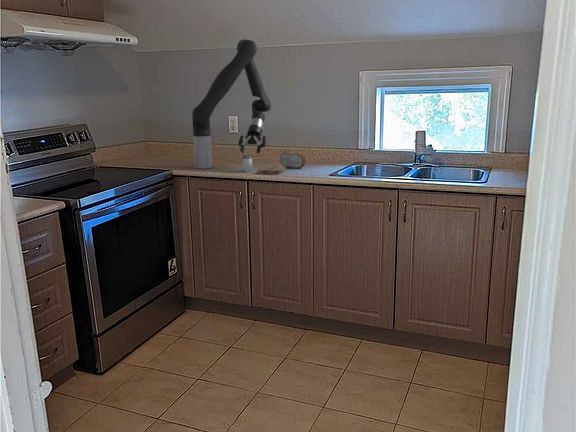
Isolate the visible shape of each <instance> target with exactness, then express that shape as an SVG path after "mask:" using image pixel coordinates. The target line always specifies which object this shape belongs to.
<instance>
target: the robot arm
mask: <svg viewBox="0 0 576 432" xmlns="http://www.w3.org/2000/svg"><path fill="white" fill-rule="evenodd" d="M257 50H258V46H257V44H256V42H255V41H253V40H251V39H245V38H244V39H241V40H239V42H238V43H237V45H236V51H237V52H236V55H235V56H234V58H232V60H231V61H230V62H229V63H228V64H226V66H224V67H223V68H222V70H220V72H219V73H218V74H217V75H216V77H215V78H214V80H213V81H212V83H211V85H210V88H209V89H208V91H207V93H206V95H205V96H204V98H203V99H202V100H201V101H200V103H199V104H198V105H197V106H195V107H194V108H193V109H192V114H191V116H192V132H193V135H192V136H193V150H192V162H193V163H192V165H193V169H210V168H213V159H212V155H213V154H212V138H211V137H212V135H211V120H210V117H211V116H212V115H213V112H214V111H215V109H216V107H217V106H218V104H219V103H220V101H221V100H222V99H223V98H224V97H225V96H226V95H227V93H228V92H229V91H230V89H231V88H232V87H233V85H234V84H235V82H236V81H237V79H238V78H239V77H240V75H241V73H242V72H243V70H245V71H244V72H245V74H246V78H247V81H248V85H249V89H250V92H251V95H252V97H257V98H259V99H255V100H253V101H252V103H251V109H252V110H251V112H252V113H251V114H252V115H251V119H250V122H249V125H248V128H247V129H248V130H247V133H246V136H243V135H241V136H240V137H239V140H238V143H237V144H238V146H239V148H240V152H241V154H244V151H245V148H246V147H248V146H249V145H257V148H256V154H257V155H258V154H260V153H261V150H262V148H266V144H267V143H266V142H267V138H266V135H263V136H262V133H263V130H264V123H265V120H266V115H265V113H266V112H269V111H271V107H272V104H271V101H270V99H269V97H268V96H267V94H266V92H265V89H264V84H263V81H262V79H261V75H260V73H259V72H258V69H257V66H256V63H255V59H254V57H255V55H256V53H257ZM260 141H261V142H260Z"/></svg>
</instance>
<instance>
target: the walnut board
mask: <svg viewBox="0 0 576 432" xmlns="http://www.w3.org/2000/svg"><path fill="white" fill-rule="evenodd" d="M283 171H284V172H285V171H286V167H284V166H283V165H282V166H279V165H278V166H276V165H264V166H262V167H260V168H258V169H257V175H276V174H279V175H280V174H282V173H284V172H283Z"/></svg>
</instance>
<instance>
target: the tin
mask: <svg viewBox="0 0 576 432" xmlns="http://www.w3.org/2000/svg"><path fill="white" fill-rule="evenodd" d="M280 163H281V165H282V166H283V167H285V168H288V167H290V168H289V169H291V168H292V169H303V168H304V167H305V165H306V157H305V155H304V154H303V153H301V152H295V151H293V152H292V151H285V152H283V153H282V154H281V155H280Z"/></svg>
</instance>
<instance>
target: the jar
mask: <svg viewBox="0 0 576 432" xmlns="http://www.w3.org/2000/svg"><path fill="white" fill-rule="evenodd" d="M242 172H243V173H251V172H252V173H253V156H252V155H247V154H246V155H243V156H242Z"/></svg>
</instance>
